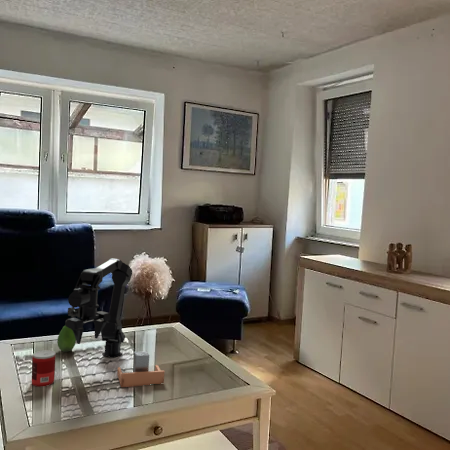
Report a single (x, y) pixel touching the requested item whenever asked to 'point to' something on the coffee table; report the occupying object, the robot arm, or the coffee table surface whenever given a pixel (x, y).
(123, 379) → the coupler dock
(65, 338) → the fruit
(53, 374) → the canned food
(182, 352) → the coffee table surface
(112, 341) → the robot arm
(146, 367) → the block
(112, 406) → the coffee table surface
